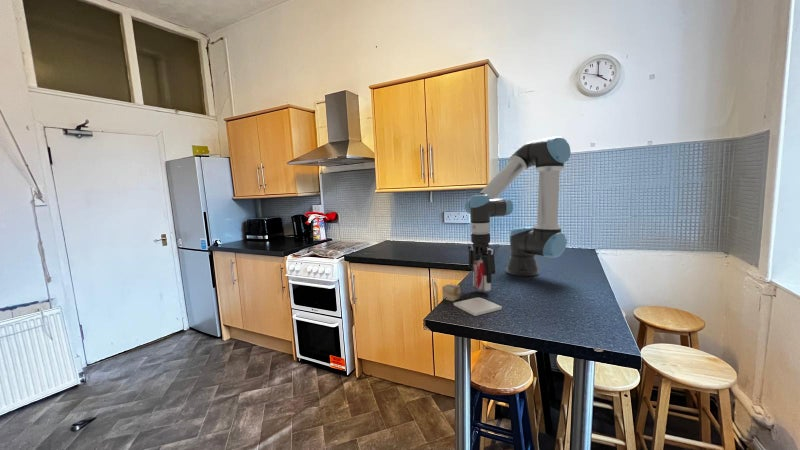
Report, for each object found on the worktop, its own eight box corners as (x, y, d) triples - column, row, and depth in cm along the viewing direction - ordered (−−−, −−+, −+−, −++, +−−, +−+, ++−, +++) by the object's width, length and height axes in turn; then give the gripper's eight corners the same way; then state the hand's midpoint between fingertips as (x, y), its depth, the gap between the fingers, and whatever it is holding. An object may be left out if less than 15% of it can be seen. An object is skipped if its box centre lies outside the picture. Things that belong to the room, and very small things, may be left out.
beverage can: (471, 288, 132) (470, 260, 131) (483, 286, 134) (483, 258, 133) (479, 292, 126) (479, 263, 125) (492, 290, 129) (492, 261, 127)
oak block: (449, 295, 129) (449, 283, 128) (460, 298, 125) (460, 285, 125) (442, 298, 125) (442, 286, 124) (453, 301, 122) (453, 288, 121)
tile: (479, 299, 122) (479, 297, 122) (501, 309, 112) (501, 306, 111) (453, 305, 117) (453, 302, 117) (474, 316, 106) (474, 313, 106)
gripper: (458, 231, 135) (460, 284, 137) (489, 236, 118) (491, 296, 120) (472, 229, 138) (473, 281, 141) (504, 234, 121) (505, 292, 123)
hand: (481, 288), depth 130 cm, fingers closed on beverage can, 6 cm apart
